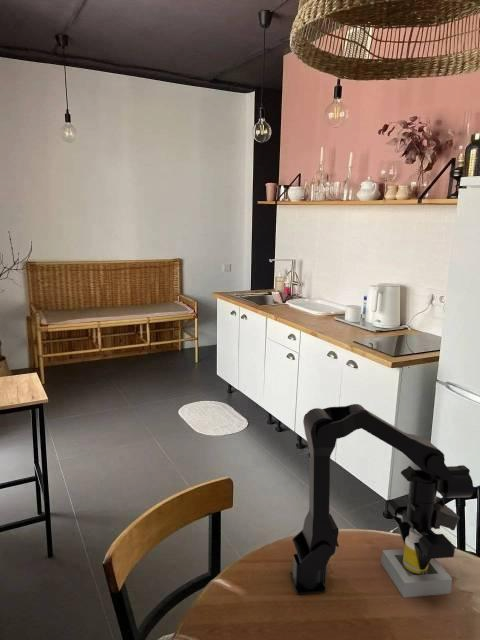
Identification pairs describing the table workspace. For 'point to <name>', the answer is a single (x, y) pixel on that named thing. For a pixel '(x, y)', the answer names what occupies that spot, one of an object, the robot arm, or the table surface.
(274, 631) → the table surface
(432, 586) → the well
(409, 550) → the supplement bottle
